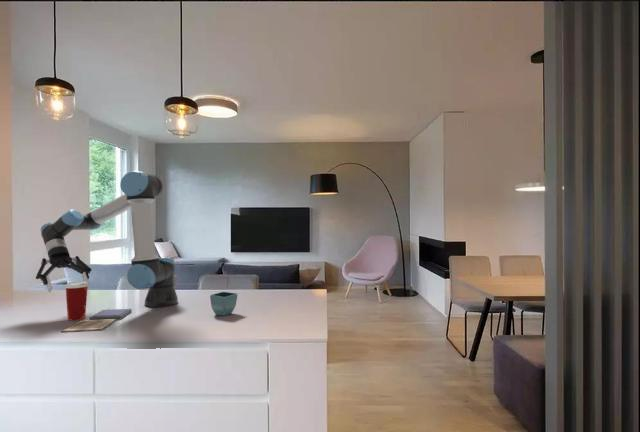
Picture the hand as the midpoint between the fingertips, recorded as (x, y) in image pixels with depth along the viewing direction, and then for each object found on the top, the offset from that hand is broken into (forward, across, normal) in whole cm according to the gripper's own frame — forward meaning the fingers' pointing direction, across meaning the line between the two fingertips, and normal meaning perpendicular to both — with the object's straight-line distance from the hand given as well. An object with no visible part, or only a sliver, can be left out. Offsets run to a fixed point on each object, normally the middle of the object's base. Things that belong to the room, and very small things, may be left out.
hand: (69, 287), depth 147 cm
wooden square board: (+25, 0, +7) cm, 26 cm away
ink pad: (+19, -11, +1) cm, 22 cm away
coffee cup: (+13, -1, -4) cm, 14 cm away
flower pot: (+45, -42, +27) cm, 67 cm away
